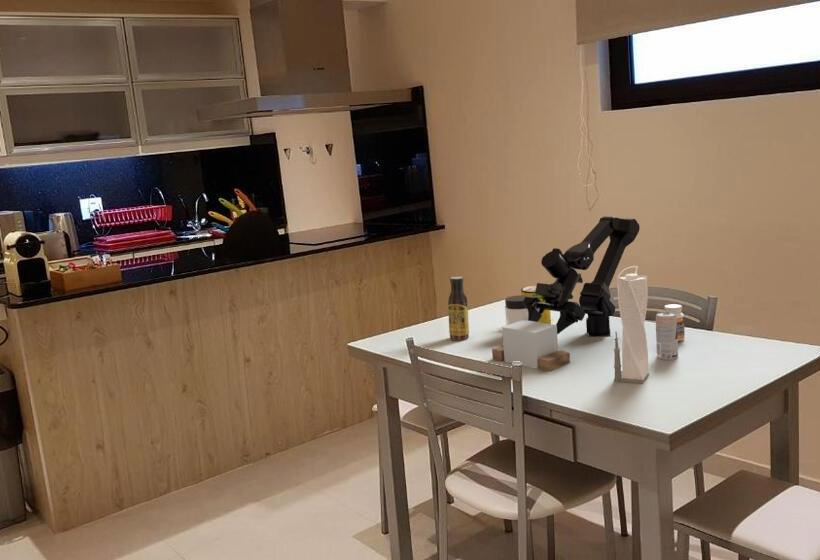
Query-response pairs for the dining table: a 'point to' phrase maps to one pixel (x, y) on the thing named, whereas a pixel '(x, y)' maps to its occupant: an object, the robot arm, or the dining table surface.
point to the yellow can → (531, 292)
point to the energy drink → (666, 335)
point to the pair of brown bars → (544, 362)
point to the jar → (515, 309)
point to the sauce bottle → (458, 310)
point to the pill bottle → (680, 319)
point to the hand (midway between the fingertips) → (540, 333)
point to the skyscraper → (632, 329)
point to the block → (529, 342)
